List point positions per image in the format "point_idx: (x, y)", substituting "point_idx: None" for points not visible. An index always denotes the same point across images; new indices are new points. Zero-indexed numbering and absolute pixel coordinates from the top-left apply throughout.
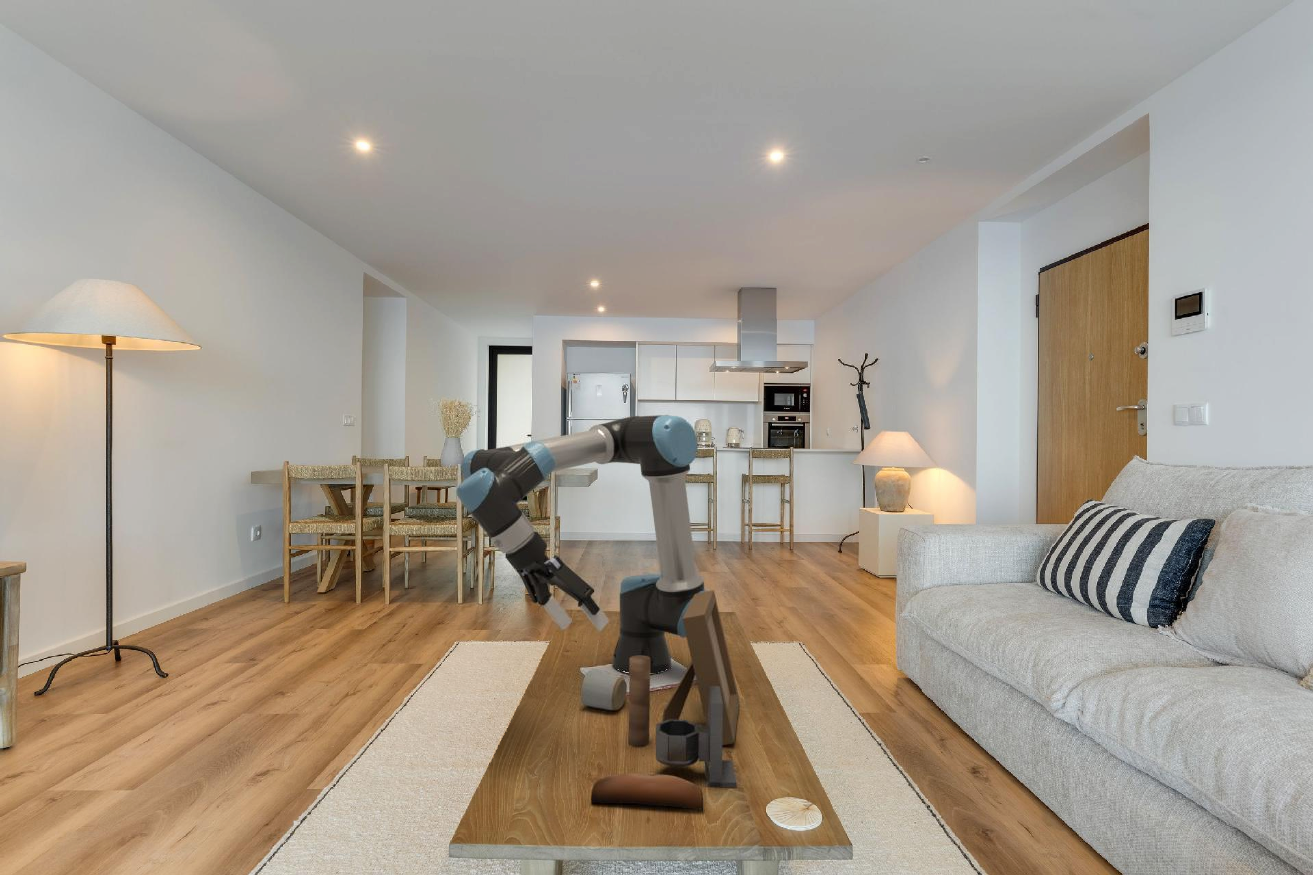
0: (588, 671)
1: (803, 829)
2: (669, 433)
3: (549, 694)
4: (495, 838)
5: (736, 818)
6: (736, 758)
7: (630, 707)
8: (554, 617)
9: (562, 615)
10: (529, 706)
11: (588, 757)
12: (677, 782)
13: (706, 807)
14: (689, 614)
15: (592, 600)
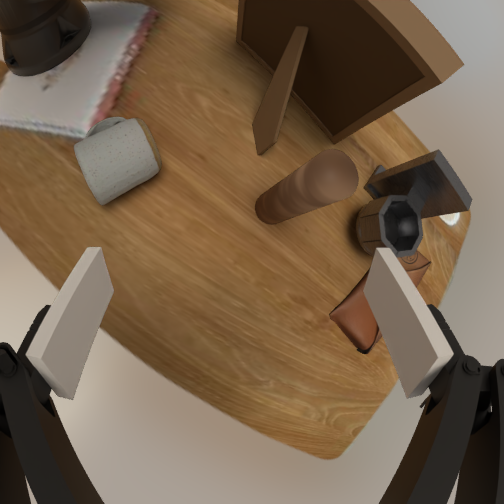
0: (83, 171)
1: (459, 215)
2: None
3: (22, 218)
4: (345, 442)
5: (436, 245)
6: (369, 149)
7: (291, 215)
8: (92, 337)
9: (89, 297)
10: (44, 275)
11: (268, 299)
12: (419, 275)
13: None
14: (427, 50)
15: (457, 348)
